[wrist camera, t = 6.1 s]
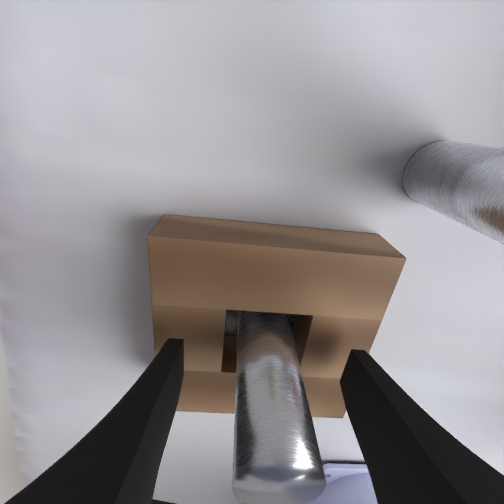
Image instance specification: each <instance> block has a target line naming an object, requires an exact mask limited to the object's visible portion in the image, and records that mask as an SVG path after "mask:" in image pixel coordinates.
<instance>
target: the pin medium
mask: <svg viewBox="0 0 504 504" xmlns="http://www.w3.org/2000/svg"><path fill="white" fill-rule="evenodd" d="M325 487H326V479H325V474H324V470H323V465H322V461H321V457H320V452H319V448H318V443H317V439H316V435H315V430H314V426H313V421H312V417H311V412H310V408H309V404H308V399H307V395H306V390H305V386H304V381H303V377H302V373H301V368H300V364H299V359H298V355H297V351H296V346H295V342H294V337H293V333H292V328H291V324H290V320H289V315H288V314H285V313H270V312H256V311H242V310H238V326H237V360H236V394H235V427H234V461H233V493H234V495H235V496H236V498H237V499H238V500H240V501H241V502H242V503H244V504H307V503H309V502H311V501H313V500H315V499H316V498H318V497H319V496H320V495H321V494H322V493H323V491H324V489H325Z"/></svg>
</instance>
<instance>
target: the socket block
mask: <svg viewBox="0 0 504 504" xmlns="http://www.w3.org/2000/svg"><path fill="white" fill-rule="evenodd" d="M147 237H148V252H149V268H150V283H151V299H152V314H153V330H154V345H155V356H156V355H157V354H158V352H159V351H160V349H161V348H162V346H163V345H164V343H165V341H166V340H167V339H168V338H177V339H184V376H183V381H182V387H181V392H180V397H179V401H178V404H177V408H176V411H186V412H209V413H233V414H235V394H236V360H237V336H225V335H224V333H225V321H226V309H227V310H242V311H256V312H270V313H285V314H296V316H295V320H294V325H293V329H292V333H293V337H294V342H295V346H296V351H297V355H298V359H299V364H300V368H301V373H302V377H303V381H304V386H305V390H306V395H307V399H308V404H309V408H310V412H311V417H327V418H343V416H344V414H345V411H346V407H345V403H344V399H343V395H342V391H341V386H340V379H341V376H342V373H343V370H344V368H345V365H346V362H347V359H348V356H349V354H350V351H351V349H357V350H365V351H366V352H367V353H368V354H369V351H370V349H371V346H372V344H373V341H374V339H375V336H376V334H377V331H378V329H379V326H380V324H381V321H382V319H383V316H384V314H385V311H386V309H387V306H388V304H389V301H390V299H391V296H392V294H393V291H394V289H395V286H396V284H397V281H398V279H399V276H400V274H401V271H402V269H403V266H404V264H405V261H406V259H407V258H405V257H404V256H403V255H402V254H401V253H400V252H399V251H397V250H396V249H395V248H394V247H393V246H392V245H390V244H389V243H388V242H387V241H386V240H385V239H384V238H382V237H381V236H380V235H379V234H371V233H360V232H349V231H339V230H328V229H317V228H306V227H295V226H285V225H274V224H263V223H252V222H241V221H230V220H220V219H209V218H198V217H187V216H176V215H166V214H165V215H164V216H163V217H162V219H161V220H160V221H159V222H158V224H157V225H156V226H155V227H154V229H153V230H152V231H151V232H150V234H149V235H148V236H147Z"/></svg>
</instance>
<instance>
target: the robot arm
mask: <svg viewBox="0 0 504 504" xmlns="http://www.w3.org/2000/svg"><path fill="white" fill-rule="evenodd" d="M183 376H184V339H177V338H168V339H167V340H166V341H165V343H164V345H163V346H162V348H161V349H160V351H159V352H158V354H157V355H156V356H155V358H154V359H153V361H152V362H151V363H150V365H149V366H148V367H147V369H146V370H145V371H144V372H143V374H142V375H141V376H140V377H139V379H138V380H137V381H136V382H135V384H134V385H133V386H132V387H131V388H130V390H129V391H128V392H127V393H126V394H125V395H124V396H123V398H122V399H121V400H120V401H119V402H118V403H117V404H116V405H115V406H114V408H113V409H112V410H111V411H110V412H109V413H108V414H107V415H106V416H105V417H104V418H103V419H102V420H101V421H100V422H99V423H98V424H97V425H96V426H95V427H94V428H93V429H92V430H91V431H90V432H89V433H88V434H87V435H86V436H85V437H83V438H82V439H81V440H80V441H79V442H78V443H77V444H76V445H75V446H74V447H73V448H72V449H70V450H69V451H68V452H67V453H66V454H65V455H64V456H63V457H61V458H60V459H59V460H58V461H57V462H55V463H54V464H53V465H52V466H51V467H49V468H48V469H47V470H46V471H45V472H44V473H42V474H41V475H40V476H39V477H38V478H36V479H35V480H34V481H33V482H32V483H30V484H29V485H28V486H27V487H25V488H24V489H23V490H22V491H20V492H19V493H17V494H16V495H15V496H14V497H12V498H11V499H10V500H8V501H7V502H6V503H4V504H151V502H152V498H153V493H154V488H155V483H156V479H157V474H158V470H159V466H160V462H161V458H162V455H163V452H164V448H165V445H166V442H167V438H168V435H169V431H170V428H171V425H172V421H173V418H174V415H175V411H176V408H177V404H178V401H179V397H180V392H181V387H182V381H183ZM340 386H341V391H342V395H343V399H344V403H345V407H346V410H347V413H348V416H349V418H350V421H351V424H352V427H353V430H354V432H355V435H356V438H357V440H358V443H359V446H360V449H361V451H362V454H363V457H364V460H365V462H366V464H333V463H327V464H324V465H323V470H324V474H325V479H326V487H325V489H324V491H323V493H322V494H321V495H320V496H319V497H318V498H316V499H315V500H313V501H311V502H309V503H307V504H504V475H502V474H501V473H499V472H498V471H497V470H495V469H494V468H493V467H491V466H490V465H489V464H487V463H486V462H485V461H483V460H482V459H481V458H479V457H478V456H477V455H476V454H474V453H473V452H472V451H470V450H469V449H468V448H467V447H465V446H464V445H463V444H462V443H460V442H459V441H458V440H457V439H456V438H455V437H453V436H452V435H451V434H450V433H449V432H447V431H446V430H445V429H444V428H443V427H442V426H440V425H439V424H438V423H437V422H436V421H435V420H434V419H433V418H432V417H430V416H429V415H428V414H427V413H426V412H425V411H424V410H423V409H422V408H421V407H420V406H419V405H418V404H417V403H416V402H415V401H414V400H413V399H412V398H411V397H410V396H409V395H408V394H407V393H406V392H405V391H404V390H403V389H402V388H401V387H400V386H399V385H398V384H397V383H396V382H395V381H394V380H393V379H392V378H391V377H390V376H389V375H388V374H387V373H386V372H385V371H384V370H383V369H382V368H381V366H380V365H379V364H378V363H377V362H376V361H375V360H374V359H373V358H372V357H371V356H370V355H369V354H368V353H367V352H366V351H365V350H357V349H351V351H350V354H349V356H348V359H347V362H346V365H345V368H344V370H343V373H342V376H341V379H340Z"/></svg>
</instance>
